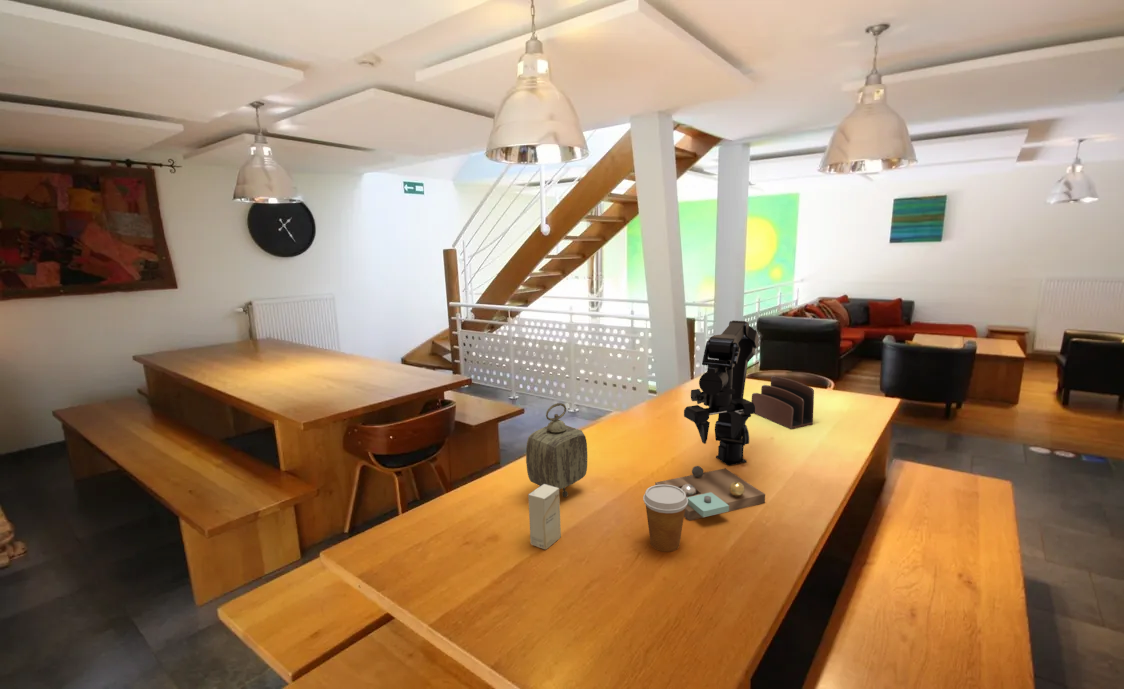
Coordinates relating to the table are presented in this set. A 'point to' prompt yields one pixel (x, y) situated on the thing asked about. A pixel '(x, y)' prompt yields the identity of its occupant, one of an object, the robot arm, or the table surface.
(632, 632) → the table surface
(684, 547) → the table surface
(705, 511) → the cover
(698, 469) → the matte grey ball
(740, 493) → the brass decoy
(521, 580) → the table surface
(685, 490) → the steel ball
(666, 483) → the board
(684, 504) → the disposable coffee cup
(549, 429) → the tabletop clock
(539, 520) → the skincare box
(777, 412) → the letter holder
